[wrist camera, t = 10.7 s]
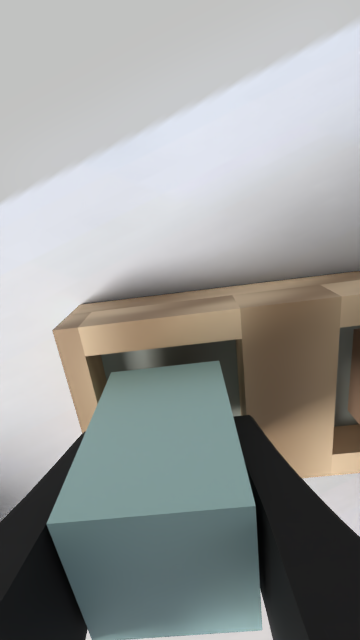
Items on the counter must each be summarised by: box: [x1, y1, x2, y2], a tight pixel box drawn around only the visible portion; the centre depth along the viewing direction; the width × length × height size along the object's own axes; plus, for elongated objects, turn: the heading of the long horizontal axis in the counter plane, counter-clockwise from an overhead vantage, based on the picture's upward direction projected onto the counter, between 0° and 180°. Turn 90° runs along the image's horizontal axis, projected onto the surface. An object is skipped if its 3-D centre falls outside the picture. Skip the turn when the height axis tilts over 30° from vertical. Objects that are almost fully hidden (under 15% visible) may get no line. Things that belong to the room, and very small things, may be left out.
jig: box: [52, 271, 360, 478], centre depth 11 cm, size 18×7×3 cm, turn 97°
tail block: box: [46, 361, 262, 640], centre depth 8 cm, size 4×4×5 cm
